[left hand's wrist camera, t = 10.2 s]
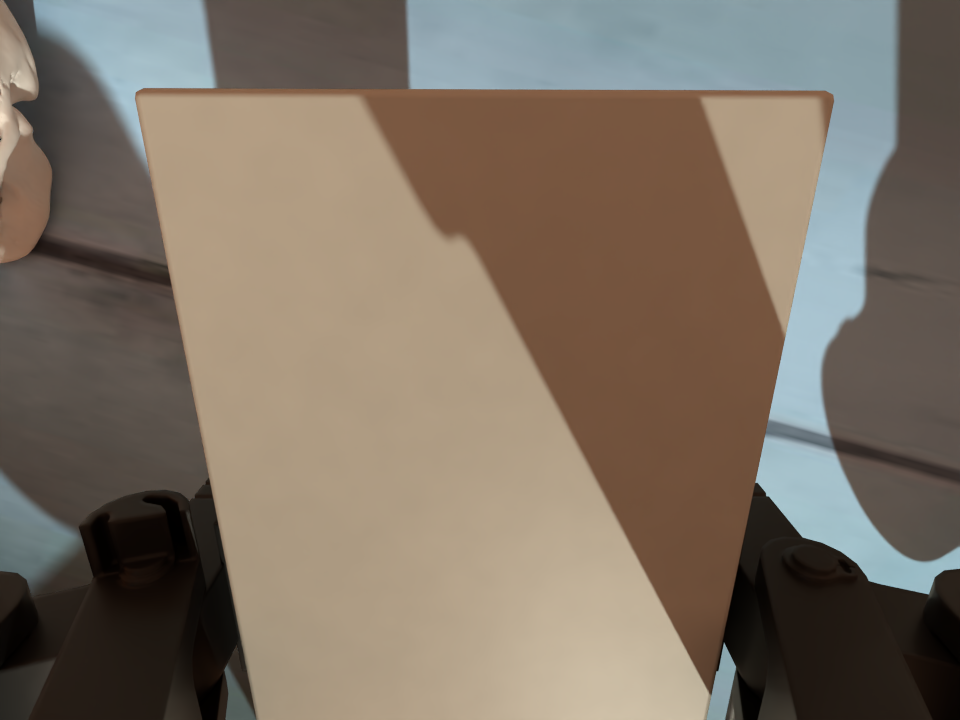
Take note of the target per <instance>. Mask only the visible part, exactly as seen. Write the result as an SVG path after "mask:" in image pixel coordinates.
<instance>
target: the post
mask: <svg viewBox="0 0 960 720" xmlns="http://www.w3.org/2000/svg"><path fill="white" fill-rule="evenodd" d="M135 100H136V105H137V110H138V116H139V121H140V126H141V131H142V136H143V141H144V146H145V151H146V156H147V162H148V167H149V172H150V177H151V182H152V187H153V192H154V197H155V203H156V208H157V213H158V218H159V223H160V228H161V233H162V238H163V243H164V249H165V254H166V259H167V264H168V269H169V274H170V279H171V284H172V289H173V295H174V300H175V305H176V310H177V315H178V320H179V325H180V330H181V335H182V341H183V346H184V351H185V356H186V361H187V366H188V371H189V376H190V382H191V387H192V392H193V397H194V402H195V407H196V412H197V417H198V422H199V428H200V433H201V438H202V443H203V448H204V453H205V458H206V463H207V468H208V474H209V479H210V484H211V489H212V494H213V499H214V504H215V509H216V514H217V520H218V525H219V530H220V535H221V540H222V545H223V550H224V555H225V561H226V566H227V571H228V576H229V581H230V586H231V591H232V596H233V601H234V607H235V612H236V617H237V622H238V627H239V632H240V637H241V642H242V647H243V653H244V658H245V663H246V668H247V673H248V678H249V683H250V688H251V693H252V699H253V704H254V709H255V714H256V719H257V720H706V718H707V714H708V709H709V704H710V699H711V694H712V689H713V685H714V680H715V675H716V670H717V665H718V660H719V655H720V651H721V646H722V641H723V636H724V631H725V626H726V622H727V617H728V612H729V607H730V602H731V597H732V592H733V588H734V583H735V578H736V573H737V568H738V563H739V559H740V554H741V549H742V544H743V539H744V534H745V529H746V525H747V520H748V515H749V510H750V505H751V500H752V496H753V491H754V486H755V481H756V476H757V471H758V466H759V462H760V457H761V452H762V447H763V442H764V437H765V433H766V428H767V423H768V418H769V413H770V408H771V403H772V399H773V394H774V389H775V384H776V379H777V374H778V370H779V365H780V360H781V355H782V350H783V345H784V340H785V336H786V331H787V326H788V321H789V316H790V311H791V307H792V302H793V297H794V292H795V287H796V282H797V277H798V273H799V268H800V263H801V258H802V253H803V248H804V244H805V239H806V234H807V229H808V224H809V219H810V214H811V210H812V205H813V200H814V195H815V190H816V185H817V181H818V176H819V171H820V166H821V161H822V156H823V151H824V147H825V142H826V137H827V132H828V127H829V122H830V118H831V113H832V108H833V103H834V97H833V95H832V94H831V93H829V92H827V91H744V90H476V89H209V88H143V89H141V90H139V91H137V92H136V96H135Z"/></svg>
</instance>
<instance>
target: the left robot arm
mask: <svg viewBox="0 0 960 720" xmlns="http://www.w3.org/2000/svg"><path fill="white" fill-rule="evenodd" d="M79 529H80V533H81V536H82V539H83V543H84V546H85V550H86V553H87V556H88V560H89V563H90V566H91V570H92V573H93V576H94V578H93V580H92V582H91V584H89V585H85V586H81V587H77V588H72V589H68V590H63V591H58V592H54V593H49V594H44V595H39V596H35V597H32V595H31V592H30V589H29V586H28V583H27V580H26V579H25V578H23V577H22V576H21V575H19V574H18V573H12V572H3V571H0V720H225V718H226V709H227V701H228V687H227V680H226V676H225V671H224V669H225V667H226V665H227V663H228V661H229V659H230V657H231V655H232V653H233V651H234V649H235V647H236V644H237V647H238V653H239V658H240V663H241V668H242V671H247V668H246V663H245V658H244V653H243V647H242V642H241V637H240V632H239V627H238V622H237V617H236V612H235V607H234V601H233V596H232V591H231V586H230V581H229V576H228V571H227V566H226V561H225V555H224V550H223V545H222V540H221V535H220V530H219V525H218V520H217V514H216V509H215V504H214V499H213V494H212V489H211V484H210V479H209V478H208V480H207V481H206V485H203V486H202V487H201V488H200V489H199V491H198V492H197V493H196V494H195V498H194V499H191V500H190V502H189V501H188V499H187V498H186V497H184V496H183V495H182V494H180V493H178V492H173V491H168V490H157V491H145V492H140V493H136V494H132V495H128V496H125V497H122V498H120V499H117V500H115V501H112V502H110V503H108V504H105V505H104V506H102V507H101V508H99V509H98V510H96V511H95V512H93V513H91V514H90V515H89V516H88V517H87V518H86V519H85V520H84V521H83V522H82V524H81V525H80V526H79ZM724 643H725V645H726V647H727V649H728V651H729V653H730V655H731V657H732V659H733V661H734V663H735V665H736V671H735V676H734V680H733V685H732V690H731V695H730V699H729V704H728V709H727V713H726V719H725V720H960V569H954V570H945V571H943V572H942V573H940V574H939V575H937V576H936V577H935V579H934V582H933V585H932V588H931V590H930V593H929V595H928V594H923V593H919V592H914V591H909V590H905V589H900V588H895V587H890V586H886V585H881V584H877V583H874V582H870V581H868V579H867V577H866V575H865V574H864V573H863V571H862V570H861V569H860V567H859V566H858V565H857V564H856V563H855V562H854V561H852V560H851V559H850V558H848V557H847V556H846V555H844V554H843V553H842V552H840V551H838V550H836V549H834V548H832V547H830V546H827V545H825V544H823V543H820V542H817V541H813V540H809V539H806V538H802V536H801V535H800V534H799V533H798V532H797V530H796V529H795V528H794V527H793V525H792V524H791V523H790V522H789V521H788V519H787V518H786V517H785V516H784V515H783V513H782V512H781V511H780V510H779V508H778V507H777V506H776V505H775V504H774V502H773V501H772V500H771V499H770V497H766V493H765V491H764V490H763V489H762V488H761V487H760V485H759V484H758V483H755V486H754V491H753V496H752V500H751V505H750V510H749V515H748V520H747V525H746V529H745V534H744V539H743V544H742V549H741V554H740V559H739V563H738V568H737V573H736V578H735V583H734V588H733V592H732V597H731V602H730V607H729V612H728V617H727V622H726V626H725V631H724V636H723V641H722V646H721V651H720V655H719V660H718V665H717V670H716V671H718V670H719V665H720V660H721V655H722V649H723V644H724Z"/></svg>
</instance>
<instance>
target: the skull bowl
mask: <svg viewBox="0 0 960 720" xmlns="http://www.w3.org/2000/svg"><path fill="white" fill-rule="evenodd" d="M38 93H39V82H38V77H37V71H36V66H35V62H34V58H33V55H32V53H31V50H30V48H29V45H28V43H27V41H26V38H25V36H24V34H23V32H22V30H21V29H20V27H19V25H18V23H17V22H16V20H15V18H14V16H13V15H12V13H11V12H10V10H9V8H8V7H7V5H6V4H5V2H4V1H3V0H0V138H2V140H1V142H0V188H1V190H0V263H6V262H11V261H15V260H18V259H20V258H22V257H24V256H26V255H27V254H29V253H30V251H31V250H32V249H33V248H34V247H35V245H36V244H37V242H38V240H39V238H40V237H41V235H42V233H43V231H44V229H45V227H46V225H47V222H48V219H49V213H50V191H51V184H52V168H51V166H50V163H49V161H48V159H47V157H46V156H45V154H44V153H43V151H42V150H41V149H40V148H39V146H38V145H37V144H36V142H35V141H34V139H33V127H32V126H31V125H30V123H29V122H28V121H27V120H26V118H25V117H24V116H23V115H22V113H21V112H20V111H18V110H17V109H16V108H15V107H13V106H12V105H13V104H14V103H16V102H20V101H32V100H35V99H36V98H37V96H38Z"/></svg>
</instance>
